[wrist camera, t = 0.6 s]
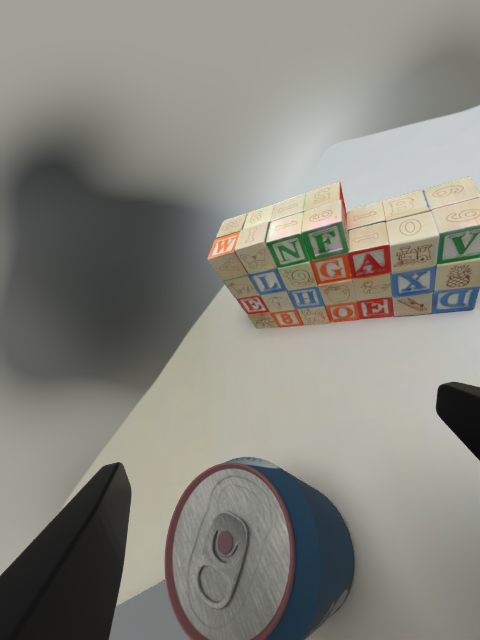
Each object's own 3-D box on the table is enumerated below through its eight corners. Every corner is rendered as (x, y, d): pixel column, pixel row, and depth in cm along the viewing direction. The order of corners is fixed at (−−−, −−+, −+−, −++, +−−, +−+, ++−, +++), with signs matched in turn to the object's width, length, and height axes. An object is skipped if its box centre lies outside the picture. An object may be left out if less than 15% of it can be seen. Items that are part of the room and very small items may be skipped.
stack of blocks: (457, 263, 26) (480, 132, 18) (474, 311, 23) (513, 176, 15) (263, 293, 37) (221, 218, 28) (255, 330, 33) (204, 257, 25)
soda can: (275, 472, 22) (199, 429, 14) (364, 511, 18) (330, 483, 10) (245, 574, 19) (123, 596, 11) (345, 649, 15) (271, 773, 7)
